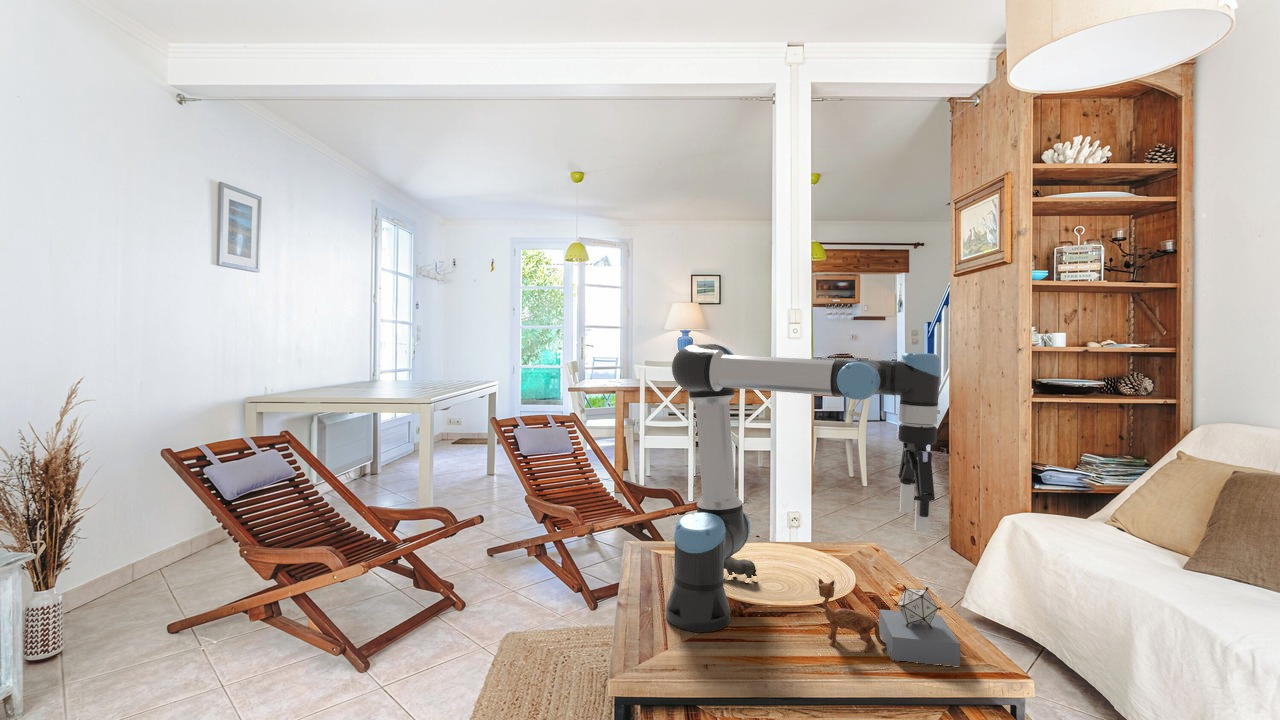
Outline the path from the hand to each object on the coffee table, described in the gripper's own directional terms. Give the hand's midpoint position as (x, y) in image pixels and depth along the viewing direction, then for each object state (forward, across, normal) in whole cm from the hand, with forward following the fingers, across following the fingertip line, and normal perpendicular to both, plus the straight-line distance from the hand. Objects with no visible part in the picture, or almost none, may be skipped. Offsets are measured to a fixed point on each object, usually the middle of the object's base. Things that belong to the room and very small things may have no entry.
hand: (913, 521), depth 130 cm
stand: (+27, -2, -1) cm, 27 cm away
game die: (+22, -2, -1) cm, 22 cm away
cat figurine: (+28, -3, +11) cm, 30 cm away
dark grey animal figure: (+28, +27, +40) cm, 55 cm away
